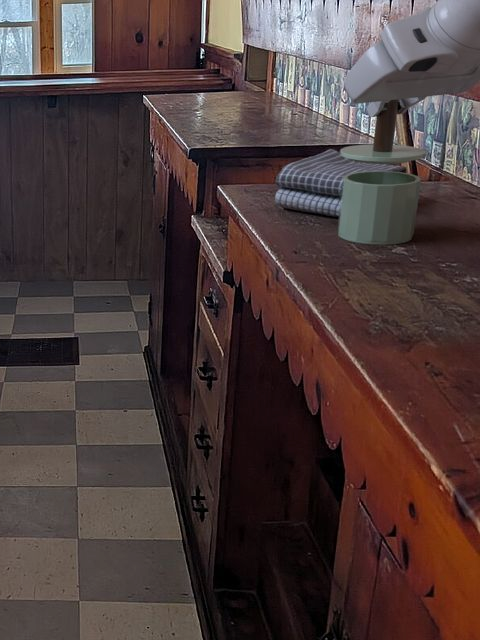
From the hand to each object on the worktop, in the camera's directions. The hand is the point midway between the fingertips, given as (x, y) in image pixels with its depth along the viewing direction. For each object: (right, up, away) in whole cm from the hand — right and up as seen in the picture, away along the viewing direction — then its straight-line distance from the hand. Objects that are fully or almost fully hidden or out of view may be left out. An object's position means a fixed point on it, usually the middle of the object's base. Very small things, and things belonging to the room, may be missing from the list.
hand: (383, 111), depth 121 cm
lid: (0, -6, +2) cm, 6 cm away
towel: (+3, -9, +24) cm, 26 cm away
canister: (+1, -16, +6) cm, 18 cm away
